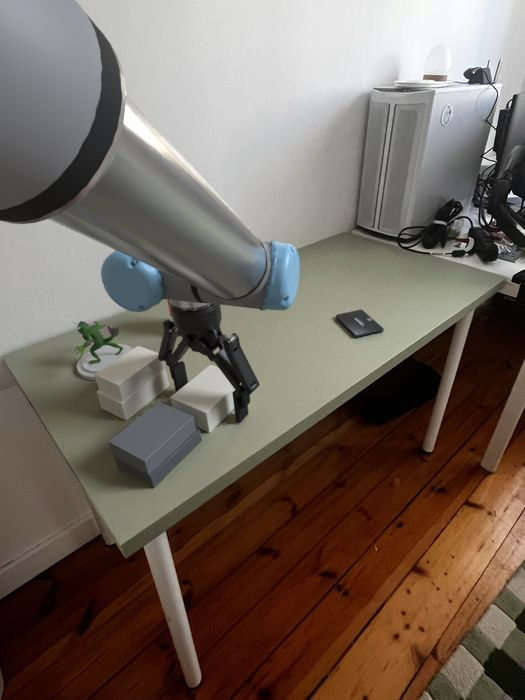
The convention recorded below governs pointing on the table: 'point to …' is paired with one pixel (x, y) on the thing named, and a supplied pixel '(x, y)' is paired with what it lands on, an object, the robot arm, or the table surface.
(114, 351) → the monster figurine
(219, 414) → the white rectangular block
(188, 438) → the grey books
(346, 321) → the solid state drive
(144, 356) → the white books
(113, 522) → the table surface
